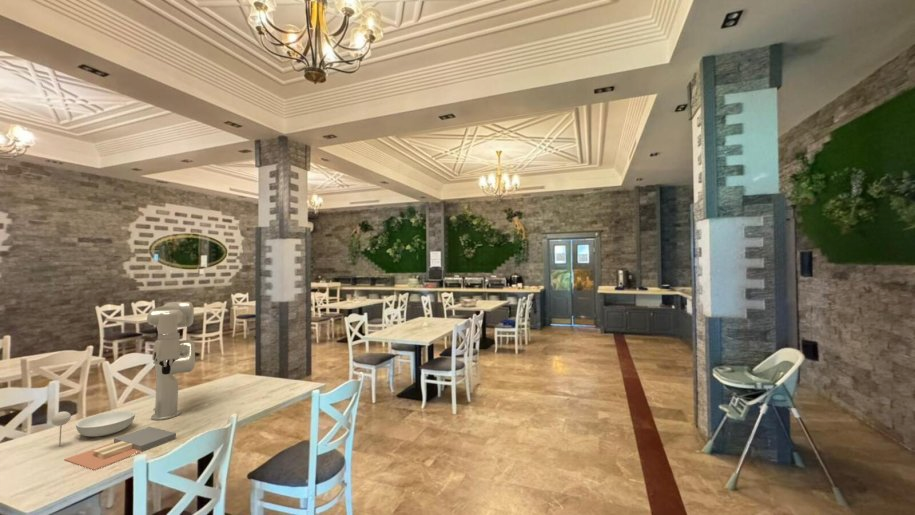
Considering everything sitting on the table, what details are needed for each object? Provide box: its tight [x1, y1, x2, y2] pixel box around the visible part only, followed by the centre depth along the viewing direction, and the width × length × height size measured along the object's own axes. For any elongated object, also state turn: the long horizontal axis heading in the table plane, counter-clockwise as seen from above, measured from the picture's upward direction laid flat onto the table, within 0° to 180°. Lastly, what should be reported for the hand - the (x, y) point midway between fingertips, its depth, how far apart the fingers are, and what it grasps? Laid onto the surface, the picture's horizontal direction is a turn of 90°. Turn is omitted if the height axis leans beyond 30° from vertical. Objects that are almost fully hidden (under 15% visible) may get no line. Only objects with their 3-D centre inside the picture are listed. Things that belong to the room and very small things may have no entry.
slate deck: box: [113, 426, 177, 452], centre depth 168 cm, size 20×14×2 cm
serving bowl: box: [75, 410, 136, 437], centre depth 178 cm, size 21×21×7 cm
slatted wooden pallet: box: [93, 441, 133, 459], centre depth 157 cm, size 8×10×2 cm
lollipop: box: [51, 411, 72, 447], centre depth 163 cm, size 6×6×15 cm
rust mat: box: [63, 442, 143, 471], centre depth 154 cm, size 22×16×1 cm
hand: (166, 373), depth 181 cm, fingers closed
